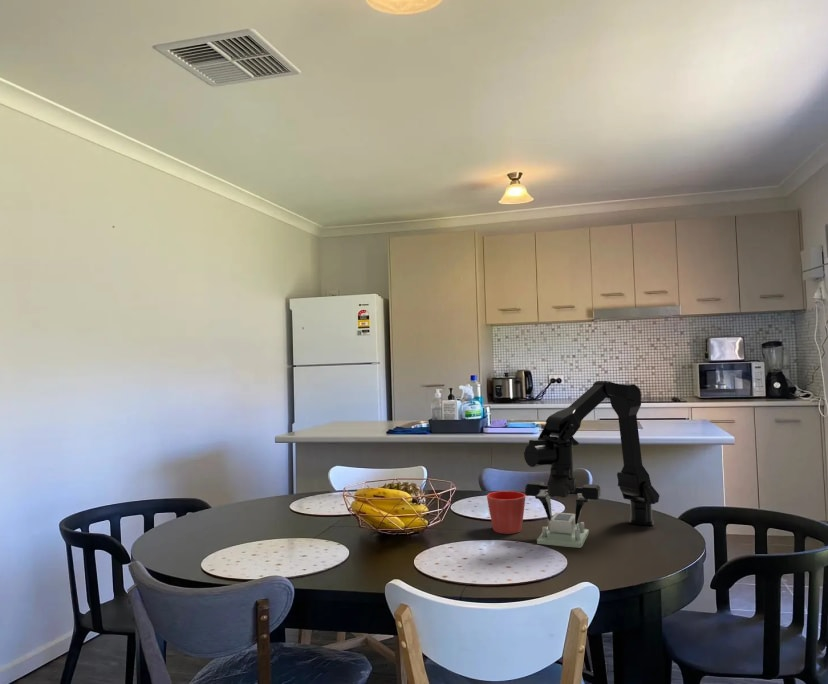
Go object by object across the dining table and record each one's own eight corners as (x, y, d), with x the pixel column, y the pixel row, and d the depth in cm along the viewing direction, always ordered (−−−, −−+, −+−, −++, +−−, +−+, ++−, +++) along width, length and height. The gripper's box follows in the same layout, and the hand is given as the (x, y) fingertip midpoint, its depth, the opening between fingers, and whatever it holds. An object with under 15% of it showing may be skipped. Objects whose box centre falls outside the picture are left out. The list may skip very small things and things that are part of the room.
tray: (547, 529, 171) (547, 516, 171) (588, 533, 167) (588, 520, 167) (537, 543, 158) (536, 529, 158) (581, 547, 154) (580, 533, 154)
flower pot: (481, 532, 169) (480, 497, 170) (495, 523, 179) (494, 489, 179) (519, 537, 164) (518, 500, 165) (531, 527, 174) (530, 492, 174)
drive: (556, 529, 168) (555, 512, 168) (577, 531, 166) (576, 513, 166) (549, 538, 160) (549, 520, 160) (571, 540, 157) (571, 521, 158)
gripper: (519, 466, 160) (521, 527, 159) (594, 470, 152) (596, 534, 152) (529, 459, 170) (530, 517, 169) (599, 463, 162) (601, 523, 162)
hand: (563, 523), depth 163 cm, fingers open, 6 cm apart
